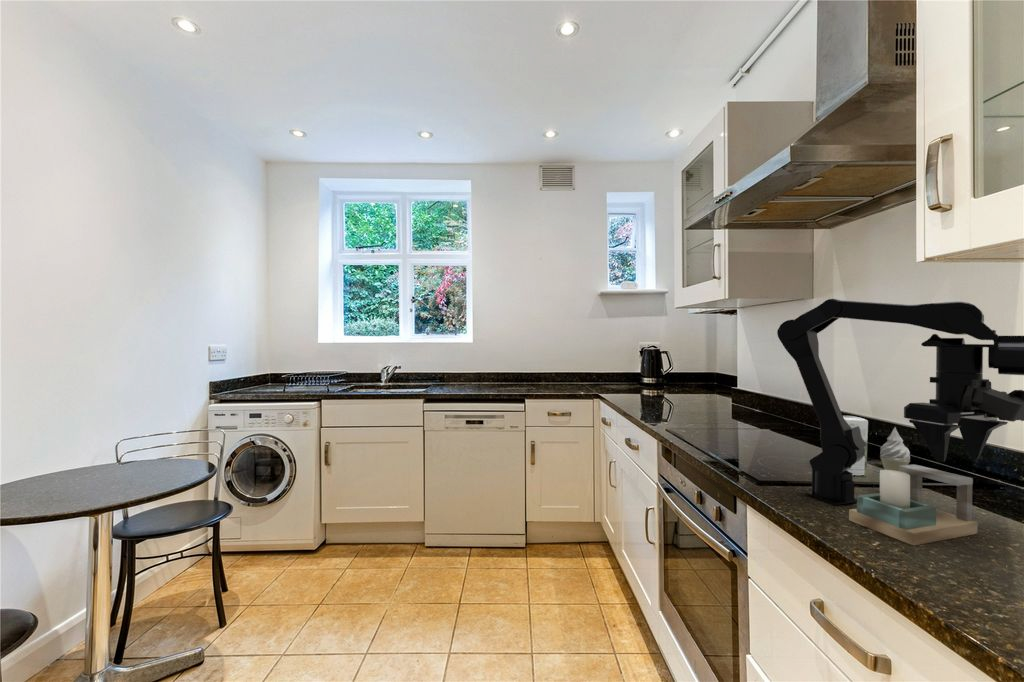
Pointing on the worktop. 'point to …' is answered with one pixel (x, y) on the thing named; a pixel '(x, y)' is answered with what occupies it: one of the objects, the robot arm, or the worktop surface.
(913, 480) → the socket board
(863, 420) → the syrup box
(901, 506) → the peg
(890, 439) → the ice cream cone
